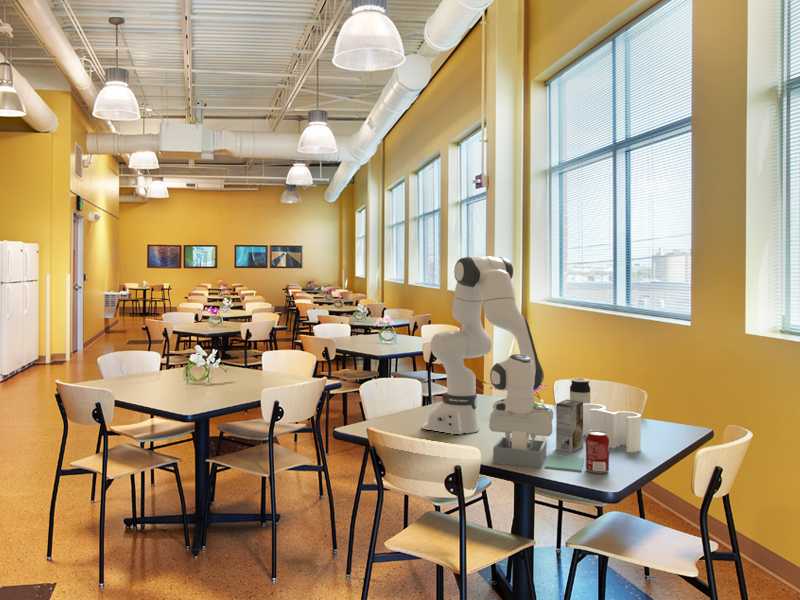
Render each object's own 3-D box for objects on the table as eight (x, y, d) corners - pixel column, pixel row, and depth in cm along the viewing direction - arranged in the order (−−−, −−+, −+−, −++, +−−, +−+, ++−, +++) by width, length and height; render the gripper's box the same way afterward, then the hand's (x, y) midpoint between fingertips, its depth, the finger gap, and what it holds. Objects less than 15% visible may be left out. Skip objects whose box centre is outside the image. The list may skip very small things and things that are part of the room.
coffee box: (566, 443, 212) (566, 398, 212) (583, 446, 208) (583, 401, 207) (555, 449, 205) (555, 403, 204) (573, 452, 201) (573, 405, 200)
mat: (544, 468, 185) (544, 466, 185) (549, 456, 197) (549, 454, 197) (581, 471, 181) (581, 470, 181) (583, 459, 193) (583, 458, 193)
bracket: (647, 449, 205) (647, 414, 205) (629, 454, 200) (629, 418, 199) (589, 433, 226) (589, 402, 226) (571, 437, 221) (571, 405, 220)
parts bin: (493, 463, 190) (493, 447, 190) (501, 451, 203) (501, 436, 203) (541, 468, 184) (541, 452, 184) (546, 455, 198) (546, 440, 197)
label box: (511, 461, 191) (511, 431, 191) (515, 455, 198) (515, 426, 197) (525, 463, 190) (525, 432, 189) (528, 457, 196) (529, 427, 196)
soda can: (608, 475, 177) (608, 436, 177) (584, 473, 180) (585, 434, 179) (609, 469, 183) (609, 430, 183) (586, 466, 186) (586, 428, 185)
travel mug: (570, 424, 239) (571, 380, 239) (568, 420, 247) (569, 377, 247) (591, 425, 238) (591, 381, 237) (588, 421, 246) (588, 378, 245)
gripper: (554, 405, 192) (554, 447, 193) (492, 400, 200) (491, 441, 200) (552, 409, 186) (551, 452, 187) (488, 404, 194) (487, 446, 194)
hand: (520, 446), depth 194 cm, fingers closed on label box, 5 cm apart
